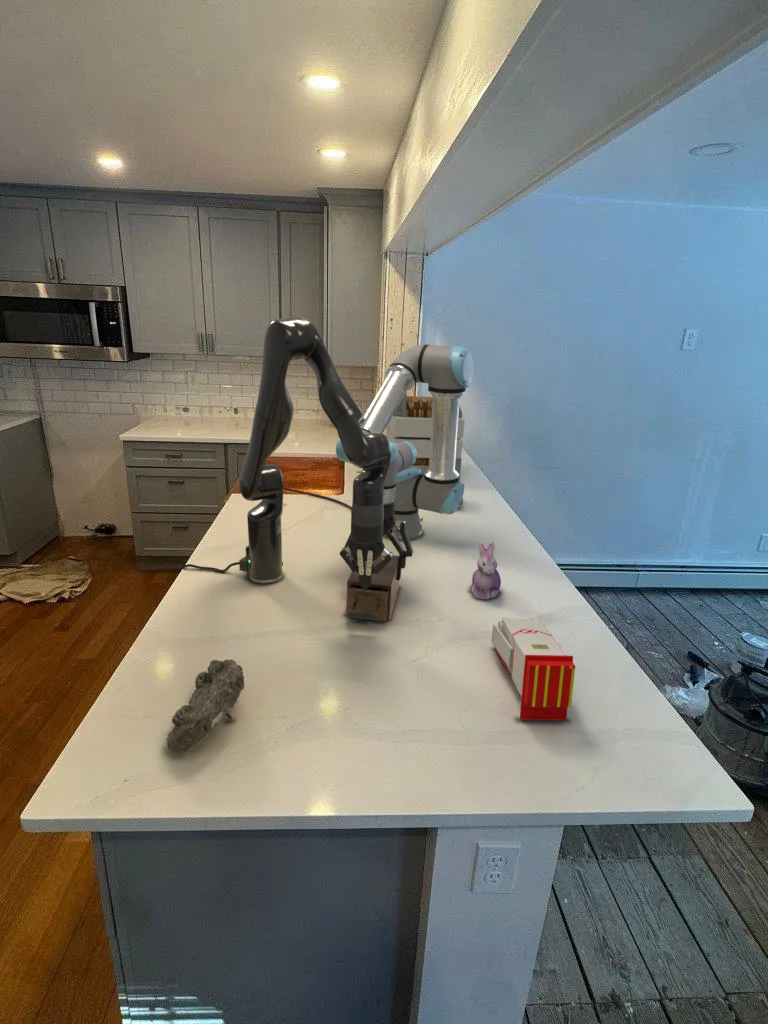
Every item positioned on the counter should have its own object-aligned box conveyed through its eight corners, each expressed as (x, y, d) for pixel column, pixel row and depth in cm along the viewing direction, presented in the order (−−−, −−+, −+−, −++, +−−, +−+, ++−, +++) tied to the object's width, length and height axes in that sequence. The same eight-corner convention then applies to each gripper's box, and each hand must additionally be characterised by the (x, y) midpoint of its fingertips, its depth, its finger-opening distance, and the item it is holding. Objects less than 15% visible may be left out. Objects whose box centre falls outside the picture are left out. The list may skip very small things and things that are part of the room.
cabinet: (389, 620, 144) (391, 585, 141) (346, 615, 146) (347, 581, 143) (398, 587, 162) (400, 556, 158) (360, 583, 163) (360, 551, 160)
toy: (537, 603, 136) (584, 662, 106) (532, 655, 138) (577, 726, 109) (487, 602, 135) (520, 661, 106) (483, 654, 138) (514, 725, 109)
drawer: (382, 633, 137) (383, 605, 134) (341, 628, 138) (342, 600, 135) (395, 590, 158) (396, 564, 155) (359, 586, 159) (360, 560, 156)
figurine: (482, 603, 154) (488, 553, 149) (461, 587, 163) (466, 539, 158) (510, 597, 158) (516, 547, 153) (487, 581, 167) (493, 534, 162)
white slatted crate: (382, 463, 289) (386, 382, 275) (445, 464, 293) (451, 384, 279) (390, 482, 257) (394, 392, 243) (460, 483, 261) (468, 394, 247)
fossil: (192, 660, 117) (244, 628, 112) (224, 691, 120) (276, 661, 115) (142, 746, 98) (202, 712, 93) (182, 779, 101) (242, 748, 96)
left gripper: (335, 522, 128) (334, 591, 134) (393, 528, 126) (390, 597, 132) (342, 512, 135) (341, 578, 141) (397, 517, 133) (394, 583, 139)
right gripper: (333, 501, 147) (332, 577, 154) (424, 509, 144) (418, 586, 151) (339, 492, 154) (338, 565, 161) (426, 500, 151) (421, 574, 158)
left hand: (365, 587), depth 136 cm, fingers closed
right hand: (377, 575), depth 156 cm, fingers closed on cabinet, 11 cm apart
